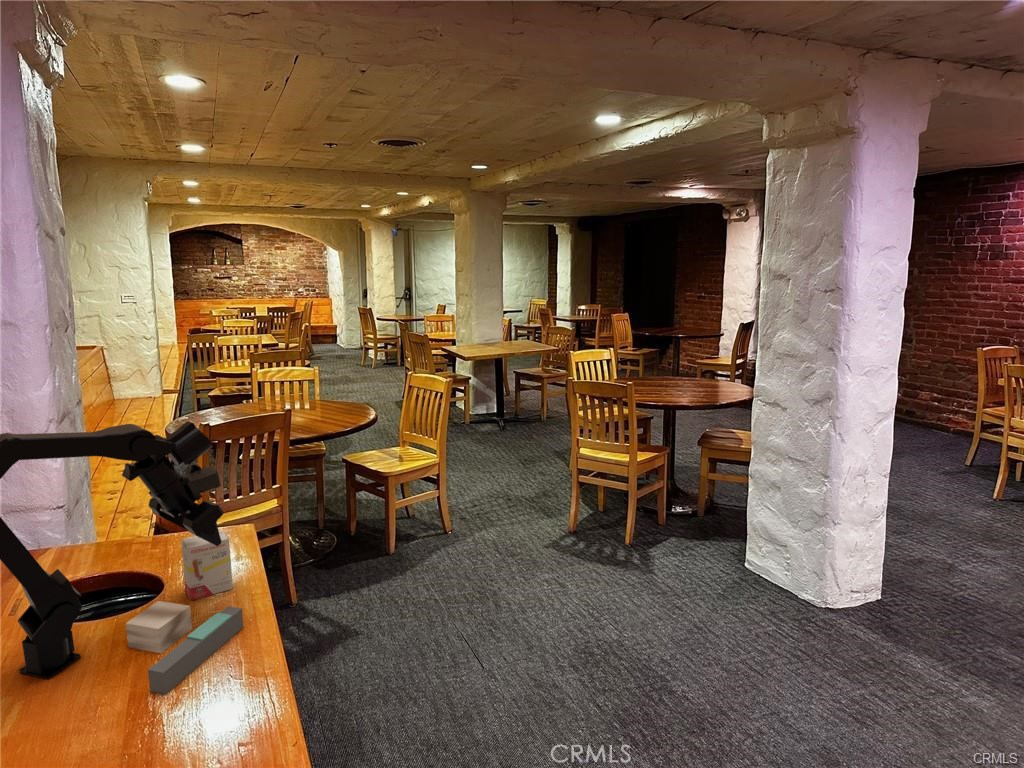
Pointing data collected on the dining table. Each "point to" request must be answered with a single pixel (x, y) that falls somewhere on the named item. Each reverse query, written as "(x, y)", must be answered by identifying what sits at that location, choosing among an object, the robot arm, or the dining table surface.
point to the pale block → (159, 626)
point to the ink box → (206, 566)
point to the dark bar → (194, 650)
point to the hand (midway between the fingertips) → (207, 538)
